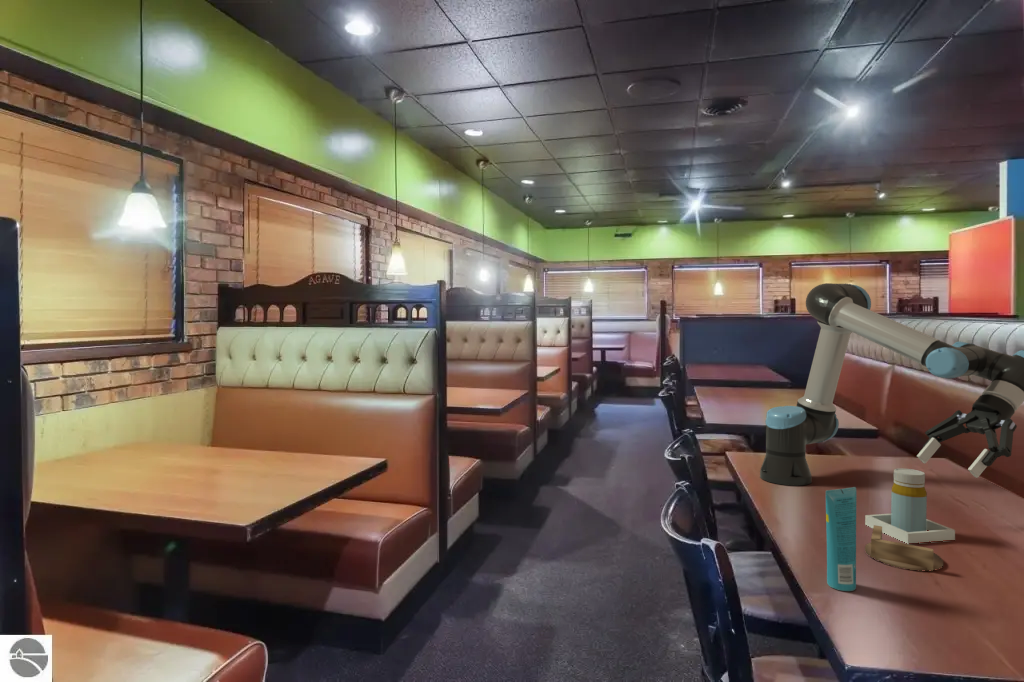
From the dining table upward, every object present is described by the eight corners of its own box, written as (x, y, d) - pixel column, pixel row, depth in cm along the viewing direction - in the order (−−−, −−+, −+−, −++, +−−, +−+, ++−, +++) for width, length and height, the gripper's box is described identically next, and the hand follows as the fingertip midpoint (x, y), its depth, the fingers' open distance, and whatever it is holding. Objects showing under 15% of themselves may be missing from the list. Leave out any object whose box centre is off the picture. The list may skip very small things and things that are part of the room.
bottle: (920, 529, 139) (920, 469, 138) (930, 539, 132) (931, 476, 132) (887, 526, 141) (888, 467, 140) (896, 536, 134) (897, 474, 134)
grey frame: (865, 525, 142) (865, 515, 142) (908, 521, 144) (908, 512, 144) (907, 544, 129) (908, 533, 129) (954, 540, 131) (955, 529, 131)
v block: (901, 541, 131) (901, 523, 131) (963, 569, 116) (964, 548, 116) (846, 546, 129) (846, 527, 129) (903, 575, 114) (903, 554, 113)
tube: (842, 577, 113) (843, 483, 112) (865, 587, 109) (866, 489, 108) (816, 584, 110) (817, 487, 110) (839, 595, 106) (839, 494, 105)
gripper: (1063, 421, 127) (1007, 491, 125) (959, 406, 152) (910, 464, 150) (1044, 399, 126) (987, 469, 124) (942, 387, 151) (893, 445, 149)
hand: (945, 466), depth 137 cm, fingers open, 13 cm apart
